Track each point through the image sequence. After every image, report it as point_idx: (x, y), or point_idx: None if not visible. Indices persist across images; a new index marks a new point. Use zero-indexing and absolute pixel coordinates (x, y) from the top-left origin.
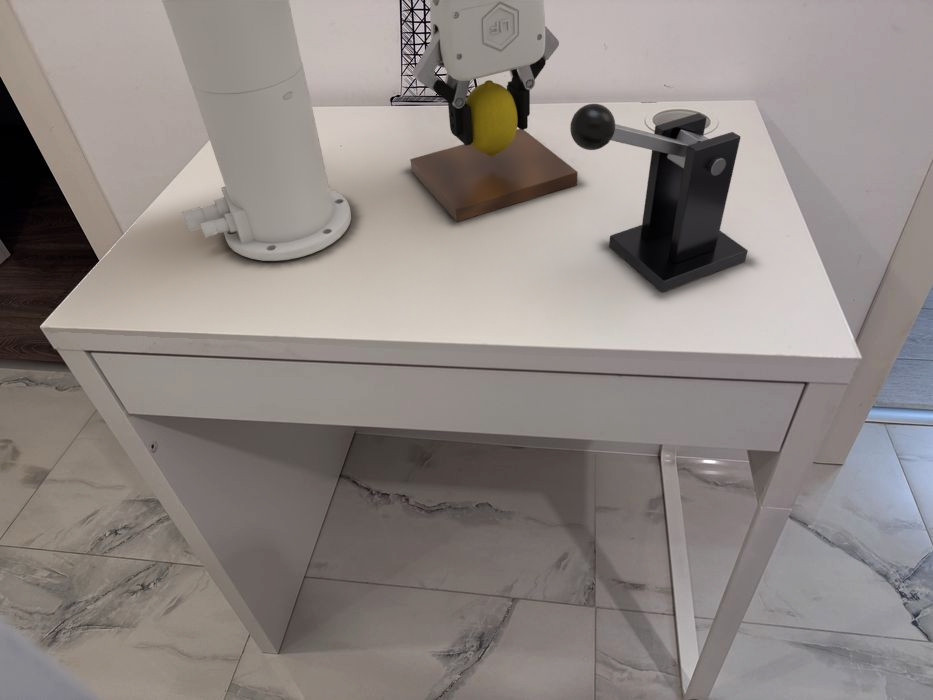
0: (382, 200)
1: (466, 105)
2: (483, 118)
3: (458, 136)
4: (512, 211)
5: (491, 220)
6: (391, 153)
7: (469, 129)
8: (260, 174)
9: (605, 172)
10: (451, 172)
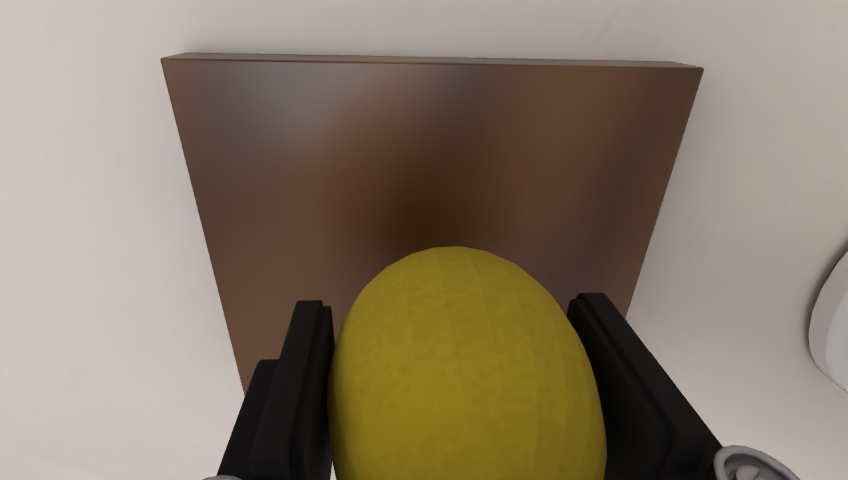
0: (731, 278)
1: (677, 457)
2: (571, 359)
3: None
4: (486, 17)
5: (579, 3)
6: None
7: (619, 337)
8: None
9: (40, 77)
10: (562, 282)
